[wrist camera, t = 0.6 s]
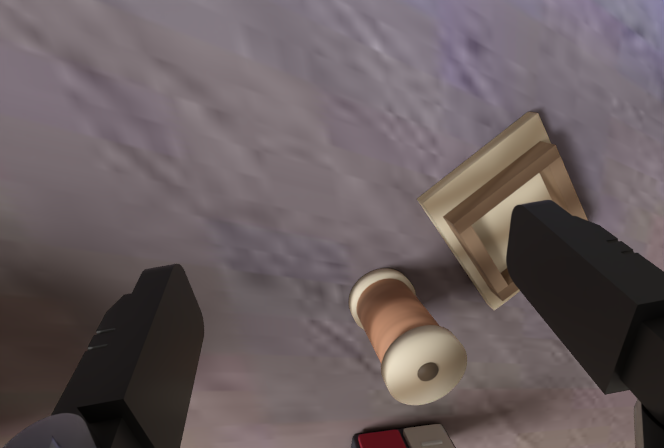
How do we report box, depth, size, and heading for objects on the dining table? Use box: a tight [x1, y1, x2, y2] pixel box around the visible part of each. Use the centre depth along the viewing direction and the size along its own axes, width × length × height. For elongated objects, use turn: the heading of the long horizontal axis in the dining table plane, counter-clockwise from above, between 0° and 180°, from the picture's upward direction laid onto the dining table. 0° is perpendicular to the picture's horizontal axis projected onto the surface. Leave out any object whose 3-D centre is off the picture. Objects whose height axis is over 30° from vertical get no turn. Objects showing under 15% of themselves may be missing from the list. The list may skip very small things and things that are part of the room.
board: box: [417, 112, 588, 310], centre depth 36 cm, size 15×12×3 cm
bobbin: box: [349, 268, 467, 405], centre depth 33 cm, size 6×6×10 cm
